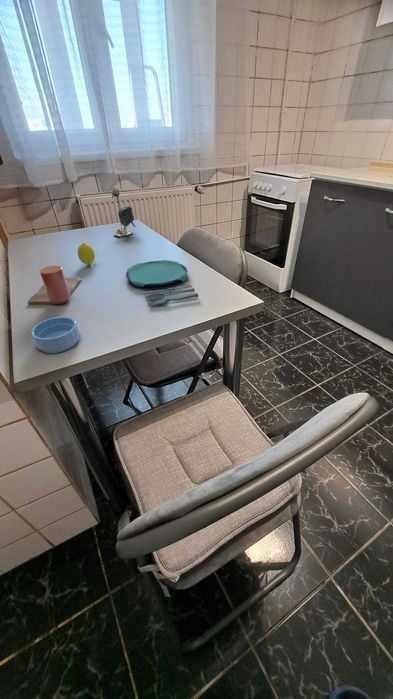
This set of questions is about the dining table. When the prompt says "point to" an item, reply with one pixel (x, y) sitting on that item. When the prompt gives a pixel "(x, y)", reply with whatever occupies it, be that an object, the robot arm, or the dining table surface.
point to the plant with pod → (123, 216)
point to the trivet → (42, 295)
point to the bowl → (56, 334)
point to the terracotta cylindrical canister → (55, 283)
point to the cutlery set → (159, 279)
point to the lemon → (86, 254)
